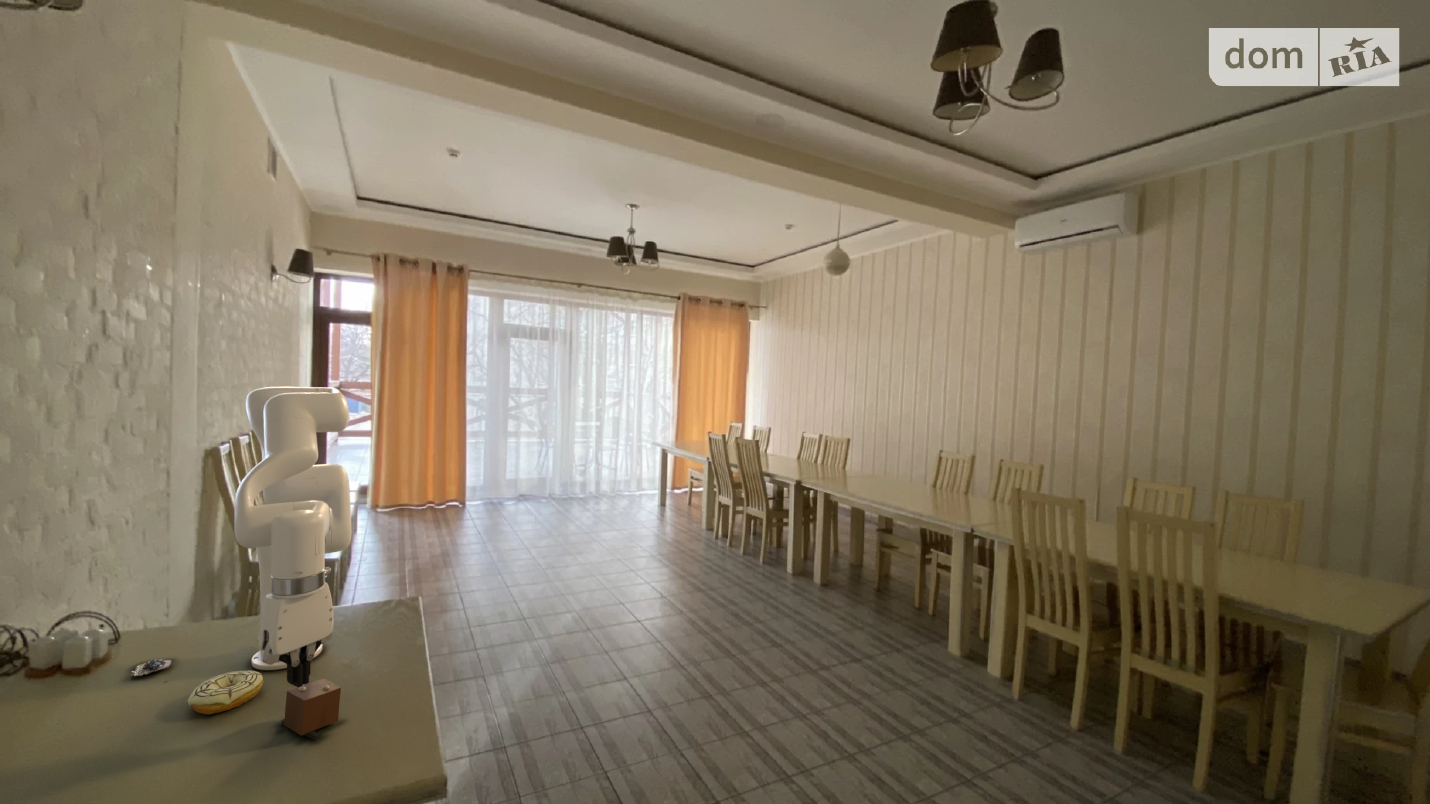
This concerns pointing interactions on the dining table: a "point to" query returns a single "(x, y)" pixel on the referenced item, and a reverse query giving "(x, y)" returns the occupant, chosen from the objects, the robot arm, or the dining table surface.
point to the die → (312, 706)
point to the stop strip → (311, 735)
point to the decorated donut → (225, 691)
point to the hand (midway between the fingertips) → (298, 683)
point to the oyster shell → (151, 667)
